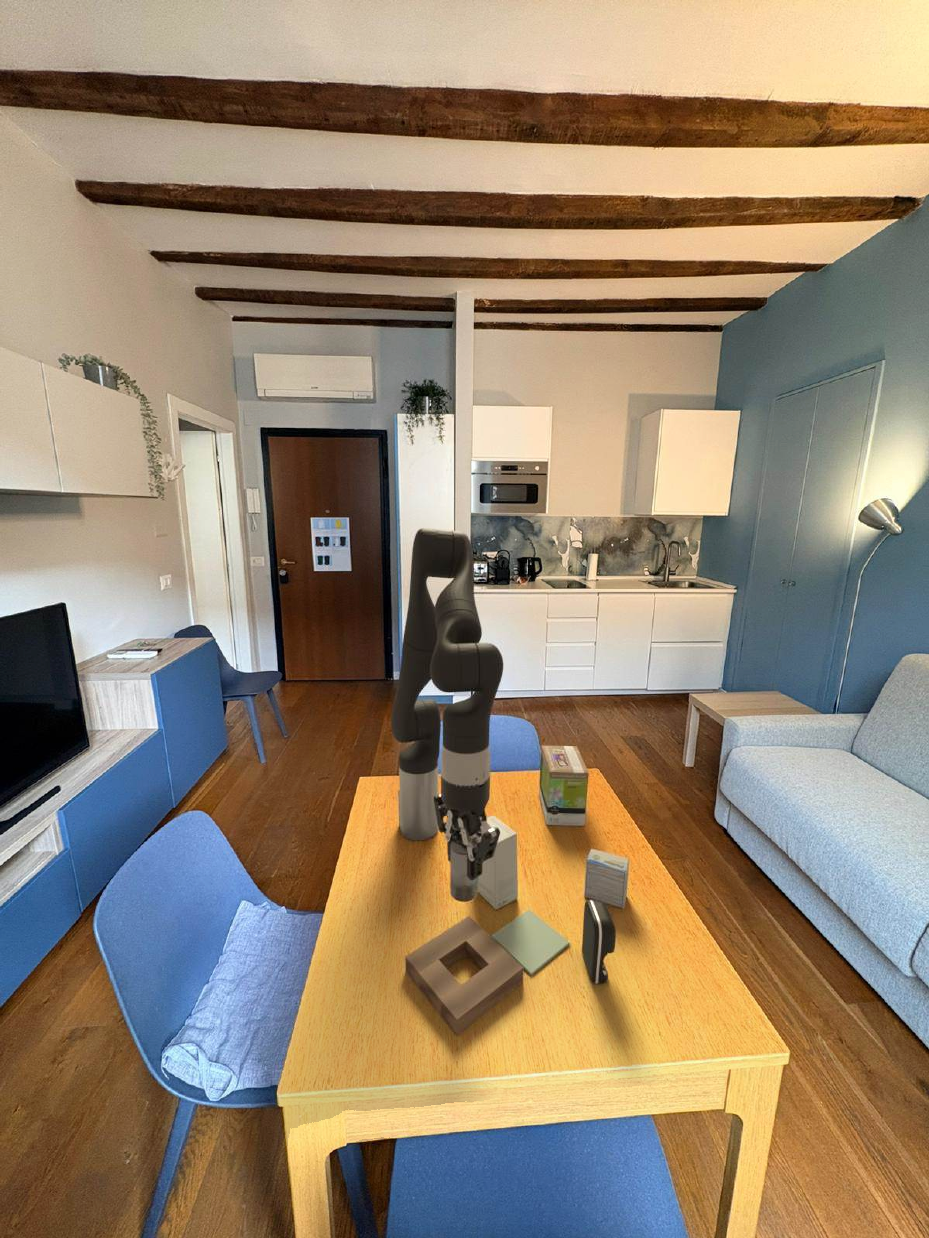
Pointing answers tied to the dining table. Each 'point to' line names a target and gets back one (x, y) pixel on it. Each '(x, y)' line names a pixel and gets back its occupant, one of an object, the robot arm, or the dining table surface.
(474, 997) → the bore block
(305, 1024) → the dining table surface
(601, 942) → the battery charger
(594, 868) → the medicine box
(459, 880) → the shiny metal cylinder
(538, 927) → the mat
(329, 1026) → the dining table surface
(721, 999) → the dining table surface
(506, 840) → the skincare box
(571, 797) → the tea box
